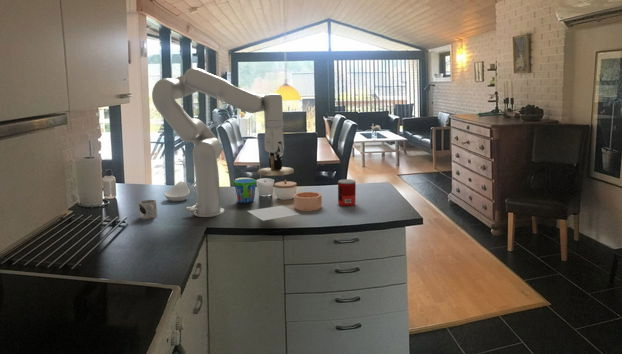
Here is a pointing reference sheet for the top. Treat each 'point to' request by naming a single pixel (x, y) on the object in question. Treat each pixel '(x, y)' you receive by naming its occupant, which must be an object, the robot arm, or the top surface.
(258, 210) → the mat
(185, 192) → the spoon rest
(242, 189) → the snack cup
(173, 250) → the top surface
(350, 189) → the canned food
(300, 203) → the bowl
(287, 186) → the lidded jar
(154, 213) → the mug
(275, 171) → the lid
